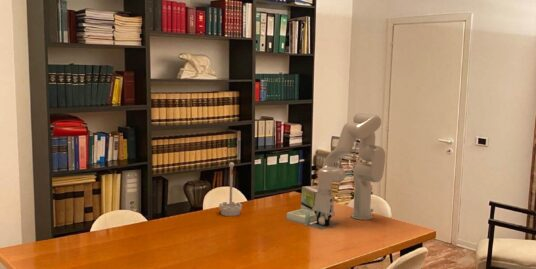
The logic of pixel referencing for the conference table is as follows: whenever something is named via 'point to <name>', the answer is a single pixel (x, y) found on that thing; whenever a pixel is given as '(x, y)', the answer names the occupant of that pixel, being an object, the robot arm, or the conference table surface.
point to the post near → (307, 217)
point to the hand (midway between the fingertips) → (323, 224)
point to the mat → (315, 225)
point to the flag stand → (230, 208)
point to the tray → (301, 216)
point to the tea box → (308, 197)
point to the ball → (322, 220)
